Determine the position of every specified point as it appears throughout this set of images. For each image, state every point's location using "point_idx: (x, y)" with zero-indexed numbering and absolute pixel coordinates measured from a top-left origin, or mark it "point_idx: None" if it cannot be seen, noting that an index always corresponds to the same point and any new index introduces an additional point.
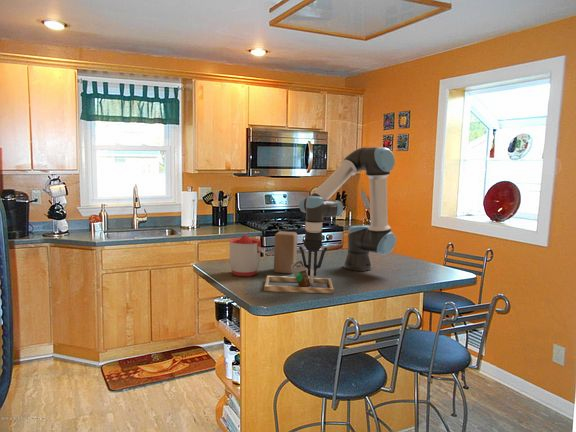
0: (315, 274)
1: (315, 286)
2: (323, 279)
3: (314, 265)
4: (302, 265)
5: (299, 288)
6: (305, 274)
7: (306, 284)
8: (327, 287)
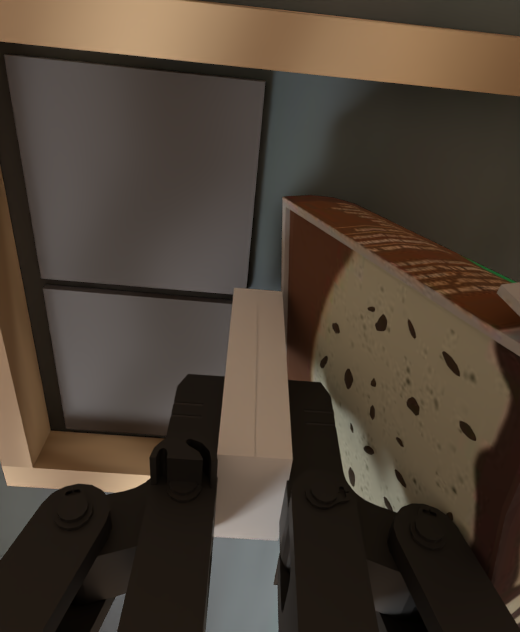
0: (188, 392)
1: (201, 302)
2: (92, 466)
3: (196, 545)
4: (518, 545)
5: (517, 37)
6: (438, 269)
7: (357, 208)
8: (42, 265)
